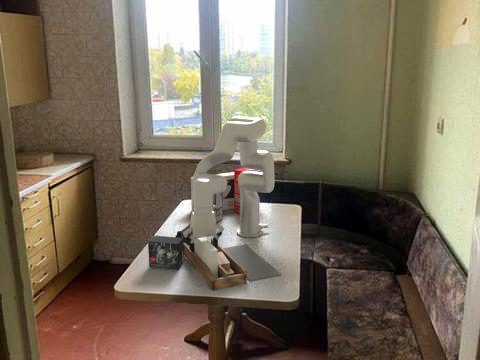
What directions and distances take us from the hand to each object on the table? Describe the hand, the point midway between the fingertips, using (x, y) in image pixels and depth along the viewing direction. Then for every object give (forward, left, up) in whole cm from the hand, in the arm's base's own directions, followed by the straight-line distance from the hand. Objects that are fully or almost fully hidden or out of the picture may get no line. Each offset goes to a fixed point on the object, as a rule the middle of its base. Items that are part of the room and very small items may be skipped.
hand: (203, 249), depth 193 cm
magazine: (-4, -30, -9) cm, 32 cm away
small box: (+13, -10, -9) cm, 19 cm away
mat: (-20, 0, -9) cm, 22 cm away
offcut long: (-7, 0, -10) cm, 12 cm away
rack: (-4, 0, -9) cm, 10 cm away
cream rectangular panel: (0, 0, -9) cm, 9 cm away
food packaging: (-48, -62, -9) cm, 79 cm away
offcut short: (-7, +1, -7) cm, 10 cm away
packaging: (-35, -72, -9) cm, 81 cm away
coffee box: (-26, -57, -9) cm, 63 cm away
